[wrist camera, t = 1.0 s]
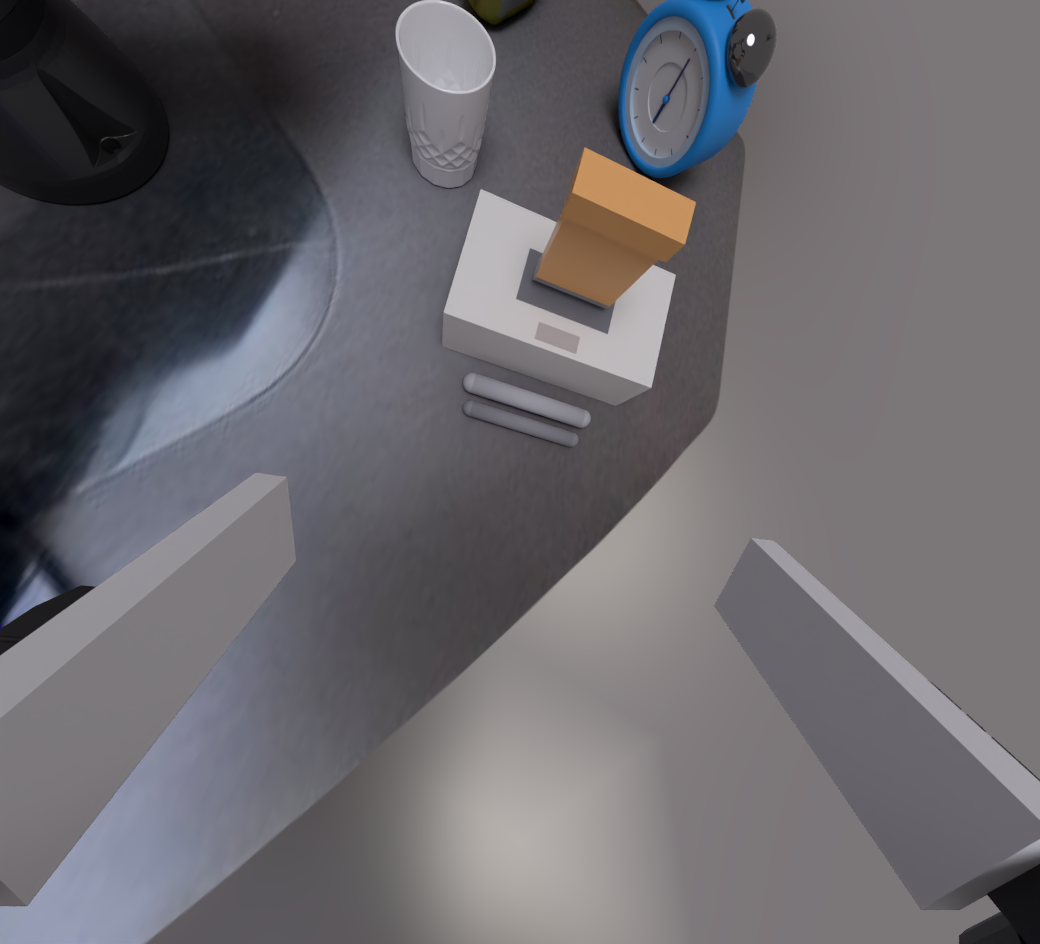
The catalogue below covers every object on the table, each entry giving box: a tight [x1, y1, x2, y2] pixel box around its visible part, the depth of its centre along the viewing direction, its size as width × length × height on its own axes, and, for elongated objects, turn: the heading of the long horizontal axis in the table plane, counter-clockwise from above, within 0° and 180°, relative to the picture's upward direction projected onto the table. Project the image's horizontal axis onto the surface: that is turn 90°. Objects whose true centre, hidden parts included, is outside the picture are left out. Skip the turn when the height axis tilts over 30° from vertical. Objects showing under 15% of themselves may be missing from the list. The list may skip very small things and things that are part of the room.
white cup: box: [396, 0, 496, 188], centre depth 34 cm, size 8×8×10 cm
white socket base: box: [442, 189, 676, 406], centre depth 37 cm, size 12×20×7 cm, turn 75°
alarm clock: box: [618, 0, 777, 180], centre depth 37 cm, size 13×6×15 cm, turn 33°
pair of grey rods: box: [463, 373, 591, 447], centre depth 38 cm, size 4×14×2 cm, turn 75°
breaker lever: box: [533, 148, 696, 309], centre depth 27 cm, size 3×8×11 cm, turn 75°
